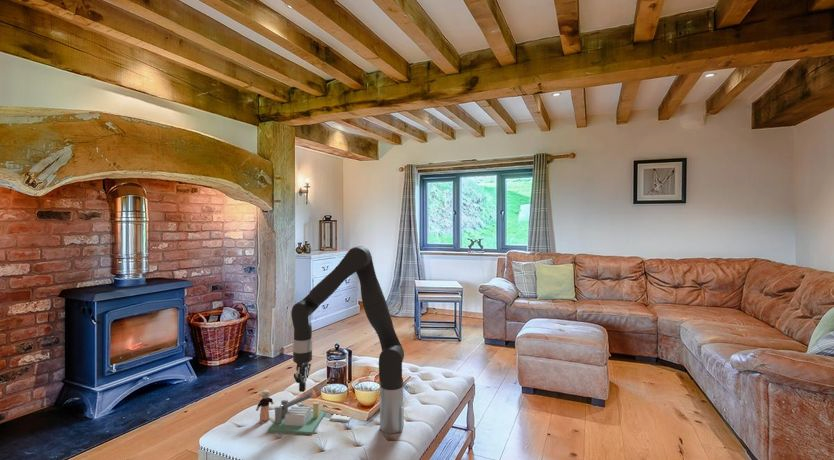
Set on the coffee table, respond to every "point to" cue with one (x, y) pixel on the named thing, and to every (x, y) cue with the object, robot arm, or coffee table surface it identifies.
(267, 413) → the grandmother figurine
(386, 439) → the coffee table surface
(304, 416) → the board
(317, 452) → the coffee table surface
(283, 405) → the gray bar
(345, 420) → the external hard drive
